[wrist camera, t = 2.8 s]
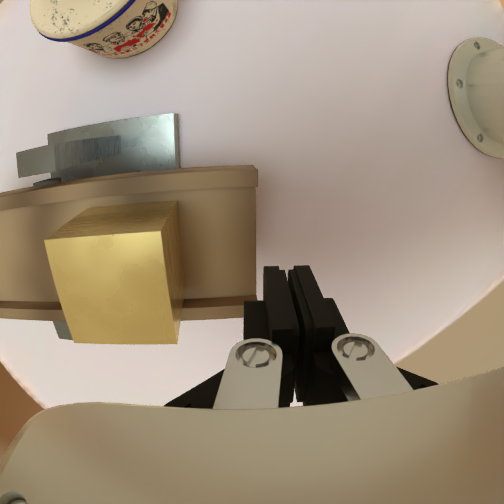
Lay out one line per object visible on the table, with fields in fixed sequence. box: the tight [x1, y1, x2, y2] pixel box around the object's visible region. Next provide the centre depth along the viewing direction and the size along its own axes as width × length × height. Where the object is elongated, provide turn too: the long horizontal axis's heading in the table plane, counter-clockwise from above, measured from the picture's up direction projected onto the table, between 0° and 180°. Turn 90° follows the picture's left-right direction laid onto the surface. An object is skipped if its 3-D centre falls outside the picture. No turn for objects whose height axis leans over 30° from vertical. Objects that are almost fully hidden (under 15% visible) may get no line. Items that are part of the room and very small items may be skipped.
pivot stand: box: [16, 113, 180, 340], centre depth 21 cm, size 12×15×11 cm
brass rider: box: [44, 200, 185, 344], centre depth 14 cm, size 5×5×5 cm
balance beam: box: [0, 165, 258, 321], centre depth 17 cm, size 24×8×4 cm, turn 91°
